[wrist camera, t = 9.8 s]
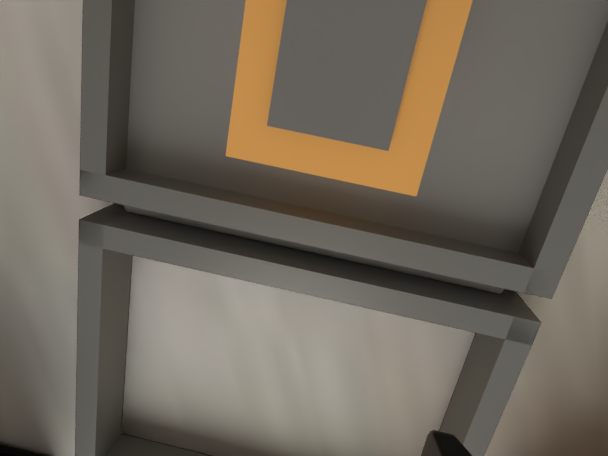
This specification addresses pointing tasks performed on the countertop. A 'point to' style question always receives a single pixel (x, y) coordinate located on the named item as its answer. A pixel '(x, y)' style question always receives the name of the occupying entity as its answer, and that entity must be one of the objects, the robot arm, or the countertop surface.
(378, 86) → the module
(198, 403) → the countertop surface
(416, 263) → the case lid
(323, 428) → the countertop surface
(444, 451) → the robot arm
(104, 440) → the case
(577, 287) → the countertop surface
